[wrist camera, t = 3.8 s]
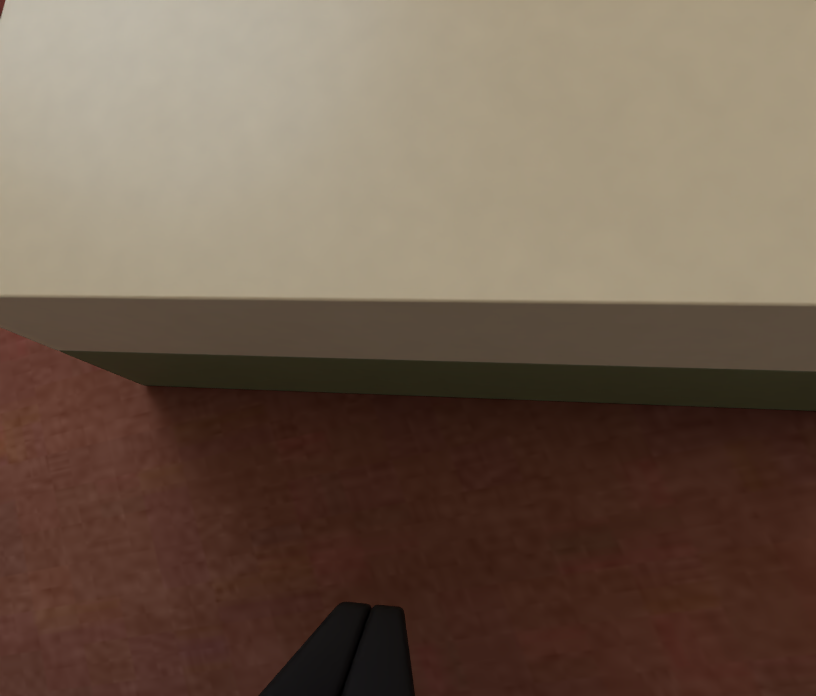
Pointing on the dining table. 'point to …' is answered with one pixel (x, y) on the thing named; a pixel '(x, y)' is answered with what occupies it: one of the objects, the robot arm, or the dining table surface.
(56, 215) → the beige lidded box
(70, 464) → the dining table surface
